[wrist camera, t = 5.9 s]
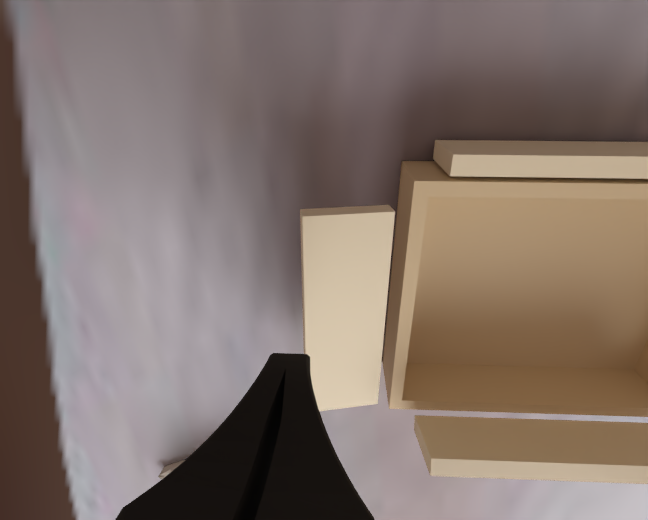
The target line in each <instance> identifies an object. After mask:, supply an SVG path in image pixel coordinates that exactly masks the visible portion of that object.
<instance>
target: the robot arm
mask: <svg viewBox="0 0 648 520" xmlns="http://www.w3.org/2000/svg"><path fill="white" fill-rule="evenodd" d="M116 520H374V517H373V516H372V514H371V513H370V511H369V510H368V508H367V507H366V505H365V504H364V502H363V501H362V499H361V498H360V496H359V495H358V493H357V491H356V489H355V488H354V486H353V484H352V483H351V481H350V479H349V477H348V476H347V474H346V472H345V470H344V468H343V466H342V464H341V462H340V460H339V459H338V457H337V454H336V452H335V450H334V448H333V446H332V444H331V441H330V439H329V436H328V434H327V432H326V429H325V426H324V424H323V421H322V418H321V415H320V412H319V409H318V406H317V402H316V398H315V395H314V391H313V386H312V381H311V375H310V356H309V355H307V354H284V353H273V354H272V355H270V357H269V359H268V361H267V362H266V364H265V366H264V368H263V369H262V371H261V372H260V374H259V376H258V377H257V379H256V380H255V382H254V383H253V384H252V386H251V387H250V389H249V390H248V392H247V393H246V394H245V396H244V397H243V398H242V400H241V401H240V402H239V404H238V405H237V406H236V407H235V409H234V410H233V411H232V412H231V414H230V415H229V416H228V417H227V418H226V420H225V421H224V422H223V423H222V424H221V425H220V426H219V428H218V429H217V430H216V431H215V432H214V433H213V434H212V435H211V436H210V437H209V438H208V439H207V440H206V441H205V442H204V443H203V444H202V445H201V446H200V447H199V448H198V449H197V450H196V451H195V452H194V453H193V454H192V455H190V456H189V457H188V458H187V459H186V460H185V461H184V462H183V463H181V464H180V465H179V466H178V467H177V468H175V469H174V470H173V471H172V472H171V473H169V474H168V475H167V476H166V477H165V478H163V479H162V480H161V481H160V482H158V483H157V484H156V485H154V486H153V487H152V488H150V489H149V490H147V491H146V492H145V493H143V494H142V495H141V496H139V497H138V498H136V499H135V500H134V501H132V502H131V503H129V504H128V505H126V506H125V507H123V509H122V510H121V512H120V513H119V515H118V517H117V518H116Z"/></svg>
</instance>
